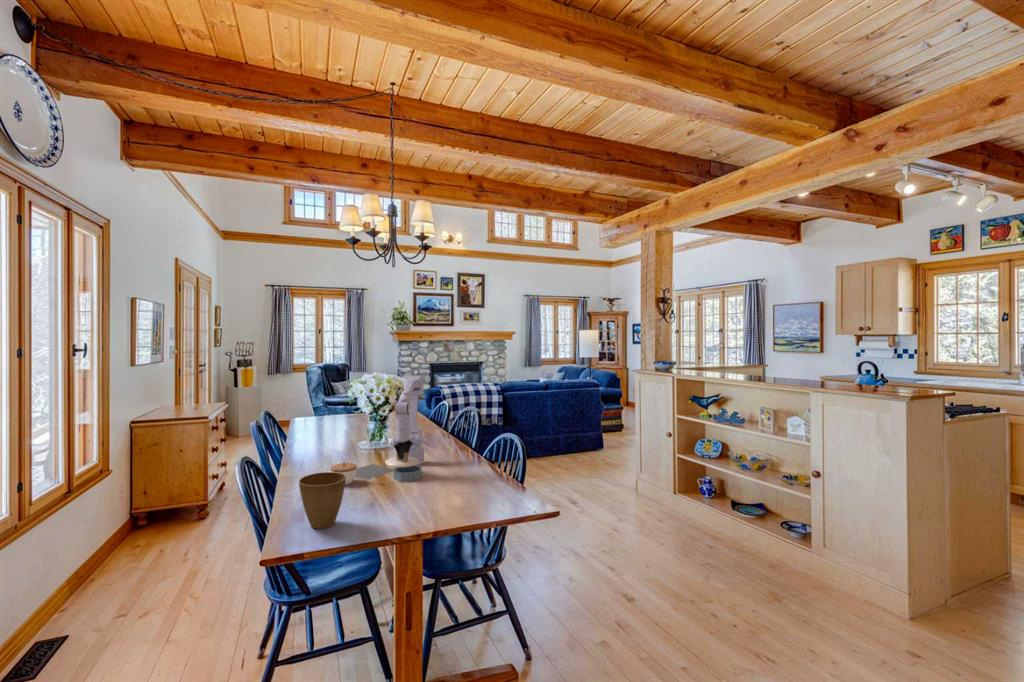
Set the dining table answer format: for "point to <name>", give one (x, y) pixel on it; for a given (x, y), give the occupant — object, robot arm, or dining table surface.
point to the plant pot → (322, 497)
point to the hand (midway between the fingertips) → (403, 458)
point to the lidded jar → (346, 471)
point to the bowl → (407, 473)
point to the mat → (372, 471)
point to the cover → (402, 461)
